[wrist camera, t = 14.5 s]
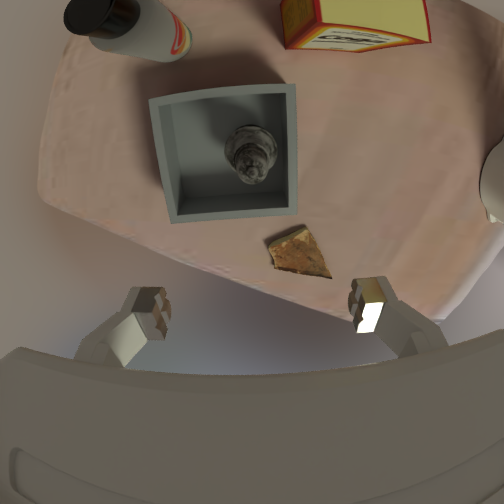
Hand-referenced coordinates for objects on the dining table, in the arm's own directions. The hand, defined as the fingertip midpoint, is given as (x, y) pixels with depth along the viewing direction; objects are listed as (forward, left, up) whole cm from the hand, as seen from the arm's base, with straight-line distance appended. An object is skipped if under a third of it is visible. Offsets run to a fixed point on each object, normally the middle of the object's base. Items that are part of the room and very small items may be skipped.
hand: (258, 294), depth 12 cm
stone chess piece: (0, -1, -25) cm, 25 cm away
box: (+3, -1, -26) cm, 26 cm away
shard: (-8, +16, -27) cm, 32 cm away
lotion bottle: (+9, -16, -26) cm, 32 cm away
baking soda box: (-10, -16, -26) cm, 32 cm away
